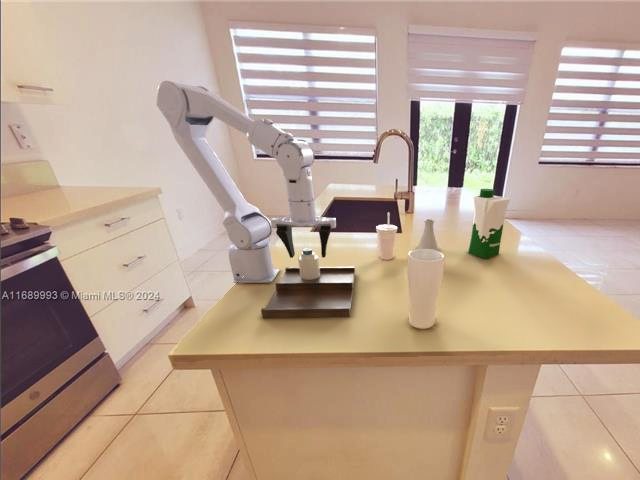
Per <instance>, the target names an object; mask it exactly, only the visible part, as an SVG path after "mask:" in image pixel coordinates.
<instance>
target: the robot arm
mask: <svg viewBox="0 0 640 480" xmlns="http://www.w3.org/2000/svg"><path fill="white" fill-rule="evenodd" d="M156 90H157V91H156V107H157V108H158V109H159V111H160V112H161V114H162V116H163V117H164V118H165V120H166V121H167V123H168V124H169V126H170V130H171V132H172V135H173V137H174V139H175V141H176V143H177V145H178V146H179V147H180V149H181V150H182V152H183V153H184V155H185V156H186V157H187V159H188V160H189V162H190V163H191V165H192V166H193V168H194V169H195V171H196V173H198V175H199V177H200V178H201V179H202V181H203V182H204V183H205V185H206V187H207V188H208V190H209V191H210V192H211V194H212V195H213V197H214V198H215V200H216V201H217V202H218V204H219V206H220V207H221V208H222V210H223V211H224V217H223V220H222V225H223V226H224V228H225V230H226V233H227V236H228V237H227V238H228V239H229V240H230V242H231V243H232V244H231V245H230V247H229V249H228V260H229V264H230V269H231V272H232V277H233V283H234V284H256V283H257V284H261V283H262V284H263V283H264V284H265V283H266V284H267V283H268V284H270V283H272V282H273V281H274V279H275V278H276V276H277V275H278V274H279V272H280V269H279V268H274V264H273V263H274V262H273V258H272V251H271V246H270V241H271V240H270V237H271V235H272V234H273V229H276V231H275V233H276V236H277V237H278V238H279V239H280V241H281V242H282V244H283V245H284V247H285V249H286V251H287V254H288V256H289V258H290V259H293V258H294V257H295V255H296V254H295V247H294V240H293V228H319V230H318V235H319V241H320V246H321V247H320V250H321V258H326V256H327V246H328V242H329V237H330V235H331V231H332V229H336V227H337V220H336V219H337V218H336V217H326V216H325V217H323V216H317V214H316V213H317V212H316V203H315V193H314V184H313V174H312V173H313V172H312V165H313V164H314V162H315V152H314V150H313V147H312V146H311V145H310V144H309V143H308V142H307V141H306V140H304V139H295V138H294V135H293V134H292V133H291V132H285V131H283V130H281V129H280V128H278V127H277V126H275V125H274V122H273V121H274V120H273V121H272V120H271V119H270V118H256V119H255V120H254V119H253V118H251V117H250V116H248V115H247V114H245V113H244V112H242V110H240V109H238V108H237V107H235V106H233V105H232V104H230V102H228V101H226V100H225V99H224V98H222V97H220V96H219V95H218V94H217V93H216V92H214V91H211V90H209V89H208V88H206V87H205V86H200V85H198V86H197V85H189V84H184V83H178V82H174V81H171V80H163V81H161V82H160V83H159V84H158V86H157V89H156ZM215 119H217V120H219V121H221V122H222V123H224V124H226V125H227V126H230V127H232V128H233V129H235V130H237V131H238V132H241V133H243V134H244V135H246V137H247V139H248V142H249V144H250V145H251V146H253V147H255V148H257V149H258V150H259V151H261V152H263V153H264V154H266V155H268V156H270V157H271V158H273V159H274V160H276V162H277V164H278V165H279V167H280V168H281V169H282V172H283V177H284V181H285V182H284V183H285V188H286V195H287V202H288V209H289V216H285V217H272V218H271V219H269V218H268V217H267V216H265V215H264V214H263V213H262V212H261V211H260V209H259V207H257V206H255V205H253V204H251V203H249V202H247V200H246V199H245V197H244V195H243V194H242V193H241V191H240V190H239V188H238V186H237V185H236V183H235V182H234V180H233V178H232V177H231V176H230V175H229V173H228V171H227V170H226V168H225V166H224V164H223V163H222V162H221V160H220V159H219V157H218V156H217V154H216V152H215V151H214V150H213V148H212V147H211V145H210V144H209V142H208V140H207V139H206V138H207V134H208V132H209V130H210V128H211V127H212V124H213V122H214V120H215ZM243 276H244V277H243ZM242 277H243V278H242ZM237 282H238V283H237Z"/></svg>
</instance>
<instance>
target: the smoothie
mask: <svg viewBox="0 0 640 480" xmlns="http://www.w3.org/2000/svg"><path fill="white" fill-rule="evenodd" d="M390 214H391V213H390V212H389V211H388V212H387V224H378V225H376V227H375V231H376V232H377V241H378V247H379V255H380V256H379V257H380V259H381V260H386V261H390V260H391V259H393V257H394V250H395V242H396V237H397V232H398V226H396V225H393V224H391V223H390V218H391V217H390V216H391V215H390Z"/></svg>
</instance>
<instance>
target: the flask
mask: <svg viewBox="0 0 640 480" xmlns="http://www.w3.org/2000/svg"><path fill="white" fill-rule="evenodd" d="M434 223H435V220H434V219H429V218H428V219H424V229H423V233H422V236H421V238H420V240H419V242H418V245H417V248H416V250H417V249H432V250H436V251H439V246H438V242H437V239H436V234H435V229H434Z"/></svg>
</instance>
